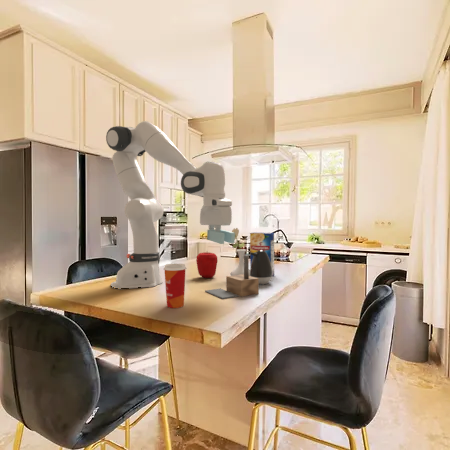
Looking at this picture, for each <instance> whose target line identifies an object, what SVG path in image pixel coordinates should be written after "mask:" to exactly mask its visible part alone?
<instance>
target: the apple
mask: <svg viewBox="0 0 450 450" xmlns="http://www.w3.org/2000/svg"><path fill="white" fill-rule="evenodd" d="M195 261H196V266H197V268H196V269H197V271H198V275H199V276H200V277H201V278H203V279H210V278H214V277H215V275H216V272H217V267H218V256H217V254H216V253H213V252H208V251H206V252H200V253H198V254H197V256H196V260H195Z"/></svg>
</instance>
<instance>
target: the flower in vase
mask: <svg viewBox="0 0 450 450" xmlns="http://www.w3.org/2000/svg"><path fill="white" fill-rule="evenodd" d="M231 232H234V233H235V240H236V242H237V243H233V245H232V246H231V247H232V248H233V249H236V253H237V254H238V261H239V262H238V265H237V266H236V267H235V268H233V269H232V270H231V271H230V272H229V273H230V275H229V276H233V275H241V274H243V275H244V255H245V253H246V252H247V249H241V248H243V247H245V242H244V241H243V242H242V243H239V240H238V236H239V233H240V229H239V228H238V227H236V228H233V229H232V230H231ZM237 247H238V248H239V249H237ZM249 276H250V269H249Z"/></svg>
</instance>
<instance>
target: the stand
mask: <svg viewBox="0 0 450 450" xmlns="http://www.w3.org/2000/svg"><path fill="white" fill-rule="evenodd" d="M249 261H250V259H249V255H247V254H246V255H245V254H244V275H243V274H241V275H233V276H231V275H227V276H226V282H225V283H226V291H228V292H231V293H234V294H237V295H239V297H246V296H251V295H252V296H253V295H259V285H260V284H258V278H255V277H251V276H249V270H250V268H249V266H250V265H249Z"/></svg>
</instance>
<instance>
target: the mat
mask: <svg viewBox="0 0 450 450" xmlns="http://www.w3.org/2000/svg"><path fill="white" fill-rule="evenodd" d="M204 292H205V293H207V294H209V295H212V296H214V297H216V298H219V299H222V300H226V299H233V298H238V297H240V296H239V295H237V294H234V293H231V292H228V291H227V289H226V290H225V289H223V288H213V289H207V290H206V289H205V290H204Z"/></svg>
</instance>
